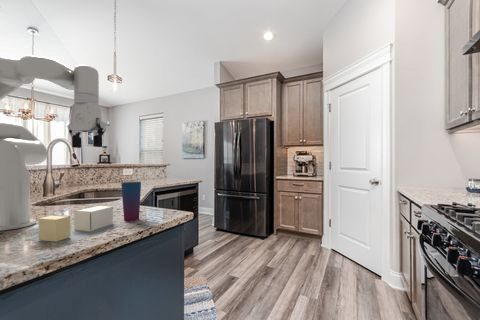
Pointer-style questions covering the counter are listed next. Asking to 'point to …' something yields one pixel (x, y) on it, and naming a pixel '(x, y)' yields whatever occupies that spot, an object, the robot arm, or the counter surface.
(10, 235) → the counter surface
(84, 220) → the white rectangular box
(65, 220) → the stub
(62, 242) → the board
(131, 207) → the cup
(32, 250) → the counter surface
